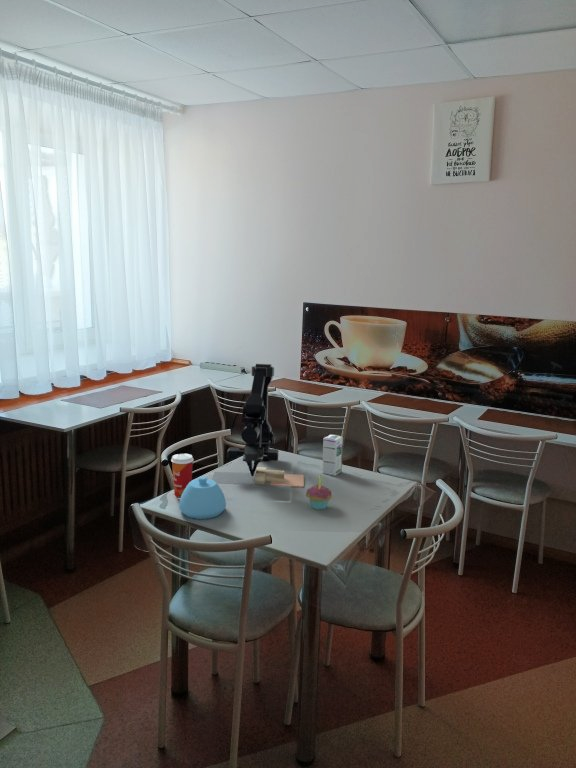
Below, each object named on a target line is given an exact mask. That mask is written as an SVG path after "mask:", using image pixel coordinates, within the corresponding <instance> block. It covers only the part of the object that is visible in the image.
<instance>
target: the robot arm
mask: <svg viewBox="0 0 576 768" xmlns="http://www.w3.org/2000/svg"><path fill="white" fill-rule="evenodd" d="M251 376H252V377H253V380H252V384H251V390H250V395H249V396H248V397H247V398H246V400H245V403H244V404H243V407H242V414H241V420H240V421H241V423H245V425H244V428H243V430H242V431H241V434H240V435H241V436H240V437H241V439H242V441H243V442H244V443H245V445H244V450H241V449H240V447H233V446H230V447H229V448H228V449H227V452H226V458H227V459H229V460H230V459H231V460H236V459H237V458H238V456H240V457H241V456H242V461H243V462H245V463H246V464H247V466H248V470H249V473H251V476H254V473H256V469H257V467H258V466H259V464H260V463H262V462H264V461H265V462H266V461H267V462H270V461H271V462H272V461H279V455H280V453H279V449H277V448H270V447H273V446H274V445H275V435H274V433H273V431H272V425H271V423H270V422H269V420H268V418H269V414H268V413H269V385H270V384H271V382H272V380H273V377H274V376H275V367H274V366H272V364H271V363H270V364H269V363H267V364H266V363H256V364H255V366H251Z"/></svg>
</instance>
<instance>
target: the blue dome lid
mask: <svg viewBox="0 0 576 768" xmlns="http://www.w3.org/2000/svg"><path fill="white" fill-rule="evenodd" d="M178 505H179V510H180V511H181V513H182V514H184V515H185V516H186V517H188V518H190V519H194V518H195V519H196V520H208V519H212V518H216V517H217V516H220V514H222V512H224V510H226V506H227V502H226V497H225V494H224V492H223V490H222V488H221V487H220V485H219V483H216V482H215V481H214V480H212V478H211V479H210V478H208V477H207V476H199V477H198V478H197V479H192V481H191V482H190V483H189V484H188V485H187V486H186V488H185V490H184V491H183V493H182V495H181V498H179V504H178ZM207 518H208V519H207Z"/></svg>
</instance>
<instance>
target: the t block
mask: <svg viewBox="0 0 576 768" xmlns="http://www.w3.org/2000/svg"><path fill="white" fill-rule="evenodd" d="M284 474H285V470H277V469H274V470H272V469H267V466H257V467H256V470H255V484H264V483H265V481H280V482H284Z"/></svg>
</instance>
